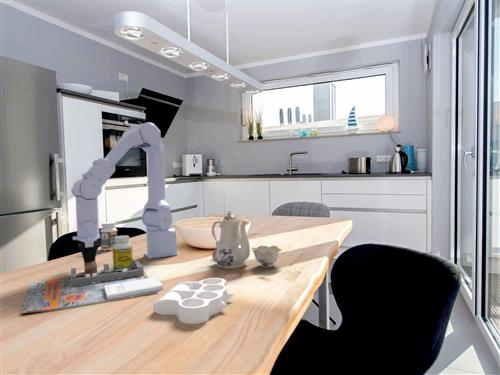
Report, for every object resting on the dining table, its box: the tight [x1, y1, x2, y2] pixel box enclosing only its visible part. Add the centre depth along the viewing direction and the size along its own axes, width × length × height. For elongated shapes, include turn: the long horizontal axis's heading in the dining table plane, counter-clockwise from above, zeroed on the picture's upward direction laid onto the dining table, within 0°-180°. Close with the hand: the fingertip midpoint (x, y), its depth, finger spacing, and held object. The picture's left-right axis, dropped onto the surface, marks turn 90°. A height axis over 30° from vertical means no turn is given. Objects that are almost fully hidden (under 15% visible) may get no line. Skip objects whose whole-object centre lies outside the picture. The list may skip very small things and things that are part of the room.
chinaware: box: [211, 210, 282, 270], centre depth 104 cm, size 28×17×17 cm, turn 46°
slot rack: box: [70, 259, 145, 287], centre depth 94 cm, size 18×10×2 cm, turn 117°
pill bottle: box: [99, 221, 118, 252], centre depth 126 cm, size 6×6×10 cm
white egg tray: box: [152, 277, 235, 325], centre depth 72 cm, size 3×18×15 cm
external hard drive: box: [103, 276, 164, 300], centre depth 82 cm, size 2×8×12 cm
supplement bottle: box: [112, 235, 134, 272], centre depth 99 cm, size 5×5×10 cm
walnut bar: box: [83, 260, 98, 277], centre depth 94 cm, size 3×8×3 cm, turn 27°
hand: (89, 267), depth 98 cm, fingers closed
